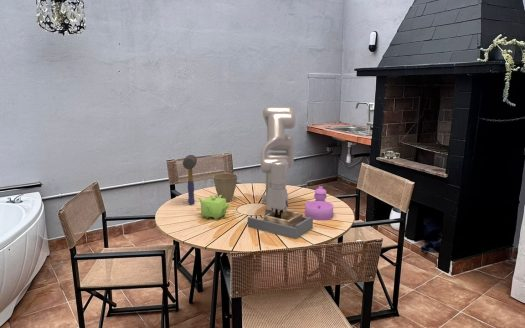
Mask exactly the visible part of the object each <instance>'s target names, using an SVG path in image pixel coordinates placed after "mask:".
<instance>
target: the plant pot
mask: <svg viewBox="0 0 525 328" xmlns="http://www.w3.org/2000/svg"><path fill="white" fill-rule="evenodd" d="M212 177H213V183H214V187H215V191H216V194H217V198H218V197H219V196H220V195H222V196H221V198H223V199H226V203H229V202H232V200H233V197H234V194H235V191H236V187H237V182H238V174H235V173H231V172H229V173H228V172H223V173H222V172H221V173H217V174H214V175H213V176H212Z"/></svg>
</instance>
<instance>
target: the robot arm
mask: <svg viewBox="0 0 525 328" xmlns="http://www.w3.org/2000/svg"><path fill="white" fill-rule="evenodd" d="M262 117H263V121H264V122H265V126H266V143H265V144H264V145H263V147H262V148H261V151H260V158H259V159H260V170H261V172H262V173H264V174H265V194H261V196H260V198H261V199H263V201H262V203H263V205H265V206H267V209H270V210H272V211H273V213H274V217H275V218H279V219H281V213H282V212H286V211H289V210H288V208H289V194H288V189H287V187H286V186H287V185H286V182H287V178H286V177H287V171H288V170H289V169H291V168H293V166H294V160H295V159H294V158H295V156H294V155H295V139H294V137H293V136H292V134H285V129H286V130H287V129H292V130H293V129H295V126H296V114H295V110H294V109H293V107H292V106H266V107H263V109H262ZM268 151H271V152H268ZM272 151H274V152H272ZM275 151H276V152H275ZM277 151H279V152H277ZM280 151H282V152H280ZM267 152H268V153H267Z"/></svg>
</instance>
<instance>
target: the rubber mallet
mask: <svg viewBox="0 0 525 328" xmlns="http://www.w3.org/2000/svg"><path fill="white" fill-rule="evenodd" d="M197 160H198V159H197V157H196V156H195V155H193V154H188V155H187V156H186V157H184V159H183V161H182V166H183V168H184V169H186V170H187V177H188V178H187V179H188V181H187V194H188V200H187V202H188V205H191V206H192V205H194V204H195V202H196V200H195V182H194V177H193V168H195V167H196V165H197Z"/></svg>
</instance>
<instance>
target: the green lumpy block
mask: <svg viewBox="0 0 525 328" xmlns="http://www.w3.org/2000/svg"><path fill="white" fill-rule="evenodd" d="M221 196H222V195H220V196H219V197H218V196H217V197H216V196H207V197H206V198H204V199H202V198H201V197H197V199H198V201H199V202H200V211H201V213H200V215H201V216H202V217H204V218H205V219H210V218H213V219H214V220H219V218H221V217H223V216H224V215H225V214H227V209H229V208H230V207H231V205H230V204H229V203H227V202H226V199H223V198H221Z"/></svg>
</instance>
